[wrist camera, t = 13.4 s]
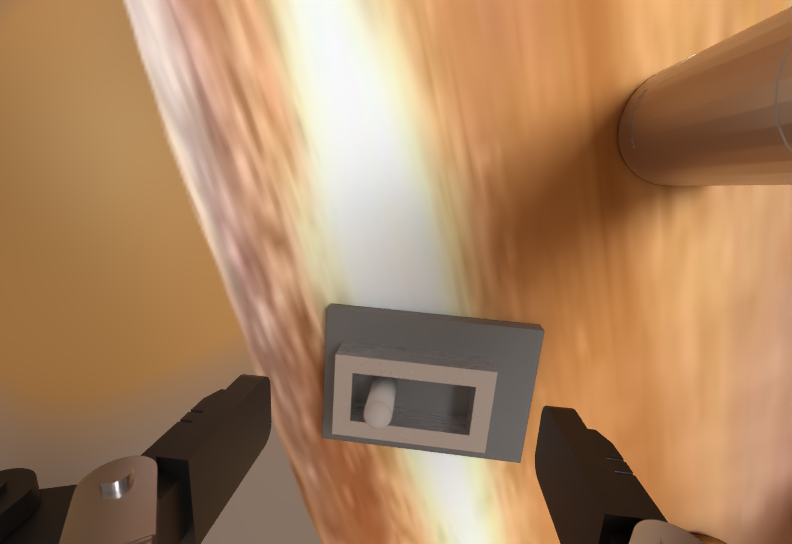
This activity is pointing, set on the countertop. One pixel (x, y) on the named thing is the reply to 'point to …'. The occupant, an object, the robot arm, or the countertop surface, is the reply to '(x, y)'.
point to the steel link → (413, 422)
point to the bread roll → (709, 539)
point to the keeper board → (499, 339)
